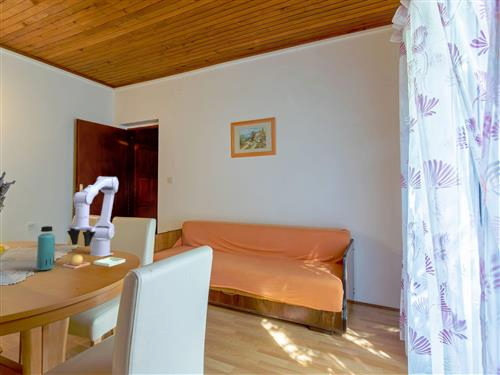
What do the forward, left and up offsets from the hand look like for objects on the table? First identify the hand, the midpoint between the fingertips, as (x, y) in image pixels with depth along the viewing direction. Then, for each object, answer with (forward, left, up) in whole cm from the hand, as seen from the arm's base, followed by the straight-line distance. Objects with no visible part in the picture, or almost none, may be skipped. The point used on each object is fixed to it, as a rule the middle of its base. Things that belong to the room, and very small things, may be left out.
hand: (80, 245), depth 130 cm
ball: (-1, -1, -10) cm, 10 cm away
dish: (-1, -1, -10) cm, 10 cm away
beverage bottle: (-6, -12, -10) cm, 17 cm away
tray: (+9, +9, -10) cm, 16 cm away
